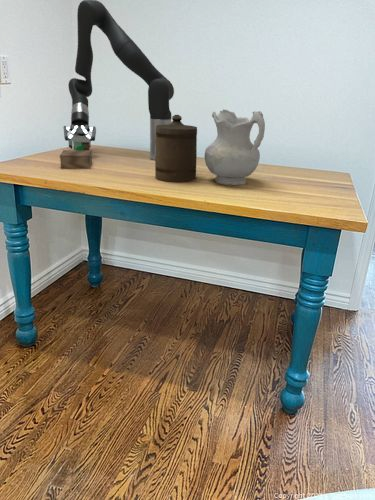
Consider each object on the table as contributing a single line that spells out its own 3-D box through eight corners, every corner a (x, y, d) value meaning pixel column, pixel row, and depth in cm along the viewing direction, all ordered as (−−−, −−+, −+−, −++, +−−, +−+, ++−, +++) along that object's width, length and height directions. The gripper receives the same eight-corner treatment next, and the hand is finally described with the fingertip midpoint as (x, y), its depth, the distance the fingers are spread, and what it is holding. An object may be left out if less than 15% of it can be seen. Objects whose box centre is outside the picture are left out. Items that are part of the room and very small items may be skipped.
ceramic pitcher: (270, 184, 151) (280, 113, 143) (250, 191, 135) (259, 110, 127) (217, 176, 161) (223, 109, 153) (192, 182, 145) (198, 106, 137)
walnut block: (92, 162, 173) (91, 150, 171) (90, 168, 162) (89, 155, 160) (64, 162, 171) (63, 150, 169) (60, 168, 160) (59, 155, 158)
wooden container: (178, 171, 162) (179, 112, 153) (204, 179, 151) (207, 116, 143) (147, 176, 153) (146, 113, 144) (172, 184, 142) (173, 117, 134)
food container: (70, 157, 183) (68, 133, 179) (84, 156, 185) (82, 133, 182) (75, 162, 173) (73, 137, 169) (90, 161, 175) (89, 137, 171)
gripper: (62, 110, 179) (60, 142, 173) (96, 110, 181) (96, 142, 175) (64, 121, 186) (63, 152, 180) (97, 122, 188) (97, 153, 182)
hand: (79, 147), depth 178 cm, fingers closed on food container, 6 cm apart
